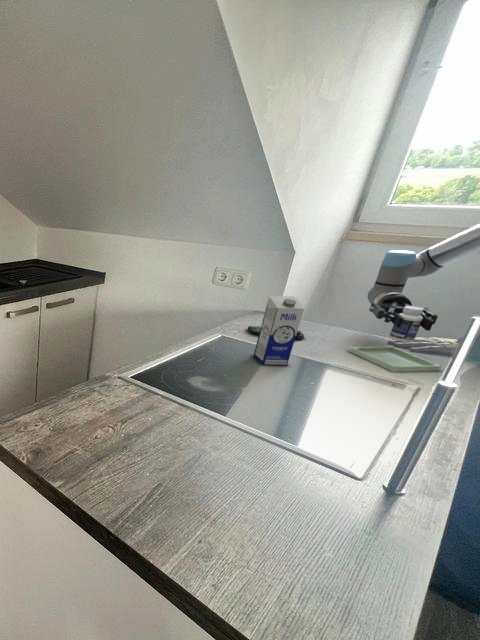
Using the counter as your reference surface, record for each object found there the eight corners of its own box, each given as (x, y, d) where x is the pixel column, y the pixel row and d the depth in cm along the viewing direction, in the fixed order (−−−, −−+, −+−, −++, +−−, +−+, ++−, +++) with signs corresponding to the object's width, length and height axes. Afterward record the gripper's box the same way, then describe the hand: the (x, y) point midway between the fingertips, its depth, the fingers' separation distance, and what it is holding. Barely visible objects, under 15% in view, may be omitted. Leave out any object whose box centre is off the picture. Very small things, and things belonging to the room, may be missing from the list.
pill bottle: (407, 343, 113) (421, 311, 109) (384, 337, 117) (397, 306, 113) (417, 340, 115) (431, 308, 111) (394, 334, 119) (406, 304, 115)
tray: (439, 370, 112) (441, 366, 111) (392, 371, 112) (394, 367, 111) (390, 350, 126) (392, 346, 125) (349, 351, 126) (351, 347, 125)
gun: (254, 334, 139) (247, 325, 147) (253, 337, 139) (246, 328, 148) (307, 338, 134) (298, 328, 142) (306, 342, 134) (297, 332, 143)
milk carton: (276, 356, 124) (294, 295, 115) (287, 365, 117) (307, 301, 109) (252, 356, 125) (268, 295, 116) (262, 364, 119) (279, 301, 110)
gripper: (426, 318, 124) (455, 342, 106) (352, 311, 133) (367, 332, 115) (436, 296, 121) (467, 315, 103) (359, 290, 130) (376, 307, 112)
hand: (414, 324), depth 109 cm, fingers closed on pill bottle, 5 cm apart
